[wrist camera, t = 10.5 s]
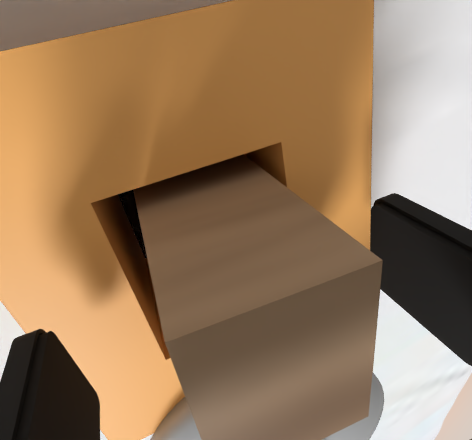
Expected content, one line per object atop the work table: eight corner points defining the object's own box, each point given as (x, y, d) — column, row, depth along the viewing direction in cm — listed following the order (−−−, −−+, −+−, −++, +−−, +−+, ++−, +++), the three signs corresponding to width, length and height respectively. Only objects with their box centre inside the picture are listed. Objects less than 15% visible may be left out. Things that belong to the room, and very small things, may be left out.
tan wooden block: (124, 147, 15) (164, 342, 5) (207, 127, 16) (382, 260, 6) (153, 238, 18) (220, 489, 8) (225, 216, 19) (368, 416, 8)
